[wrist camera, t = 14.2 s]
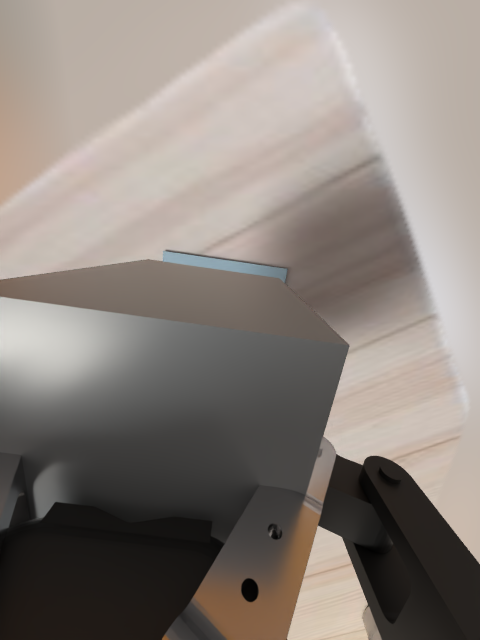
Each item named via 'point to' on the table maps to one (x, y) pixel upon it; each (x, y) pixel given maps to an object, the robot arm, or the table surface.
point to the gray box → (162, 389)
